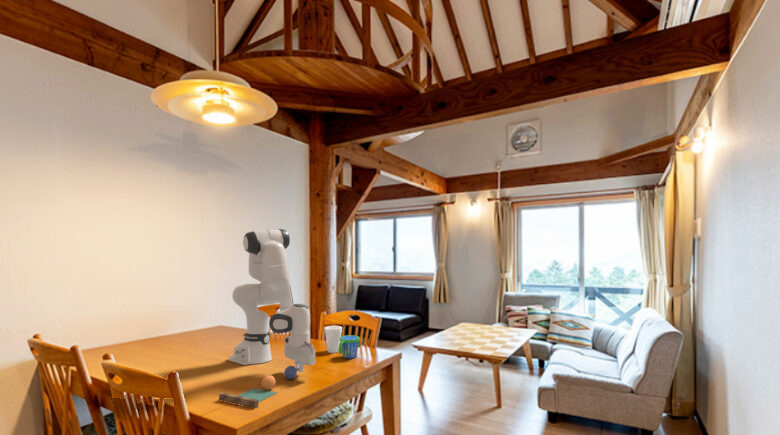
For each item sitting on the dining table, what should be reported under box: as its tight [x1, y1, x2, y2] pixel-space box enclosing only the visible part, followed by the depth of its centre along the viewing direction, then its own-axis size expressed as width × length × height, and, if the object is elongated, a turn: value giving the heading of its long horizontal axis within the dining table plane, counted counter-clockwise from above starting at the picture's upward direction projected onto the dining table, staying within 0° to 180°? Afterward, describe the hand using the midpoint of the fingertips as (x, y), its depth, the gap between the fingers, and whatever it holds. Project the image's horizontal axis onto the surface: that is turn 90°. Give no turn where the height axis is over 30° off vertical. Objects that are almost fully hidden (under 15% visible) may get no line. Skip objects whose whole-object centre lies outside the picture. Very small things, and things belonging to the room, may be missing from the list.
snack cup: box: [337, 334, 361, 359], centre depth 207 cm, size 16×11×10 cm
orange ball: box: [260, 374, 276, 391], centre depth 160 cm, size 6×6×6 cm
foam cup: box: [324, 325, 343, 354], centre depth 219 cm, size 10×9×13 cm
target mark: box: [237, 387, 278, 403], centre depth 153 cm, size 12×12×1 cm
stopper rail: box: [218, 392, 259, 409], centre depth 145 cm, size 18×2×2 cm, turn 65°
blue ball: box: [283, 365, 298, 380], centre depth 172 cm, size 6×6×6 cm
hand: (299, 371), depth 178 cm, fingers closed
